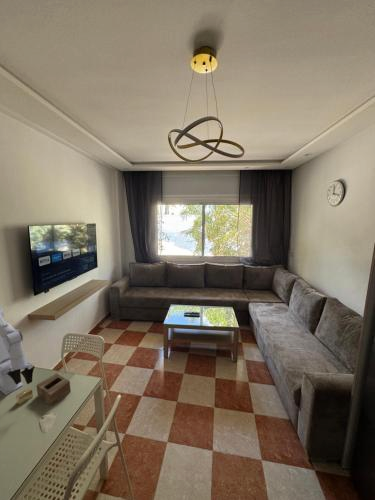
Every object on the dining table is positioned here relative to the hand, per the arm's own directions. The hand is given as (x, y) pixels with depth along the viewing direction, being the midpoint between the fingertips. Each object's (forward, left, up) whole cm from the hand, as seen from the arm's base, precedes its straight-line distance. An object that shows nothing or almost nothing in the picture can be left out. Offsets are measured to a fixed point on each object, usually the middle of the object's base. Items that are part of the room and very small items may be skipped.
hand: (24, 382), depth 110 cm
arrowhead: (+21, -1, -11) cm, 24 cm away
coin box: (+7, +10, -10) cm, 16 cm away
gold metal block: (-2, 0, -10) cm, 10 cm away
